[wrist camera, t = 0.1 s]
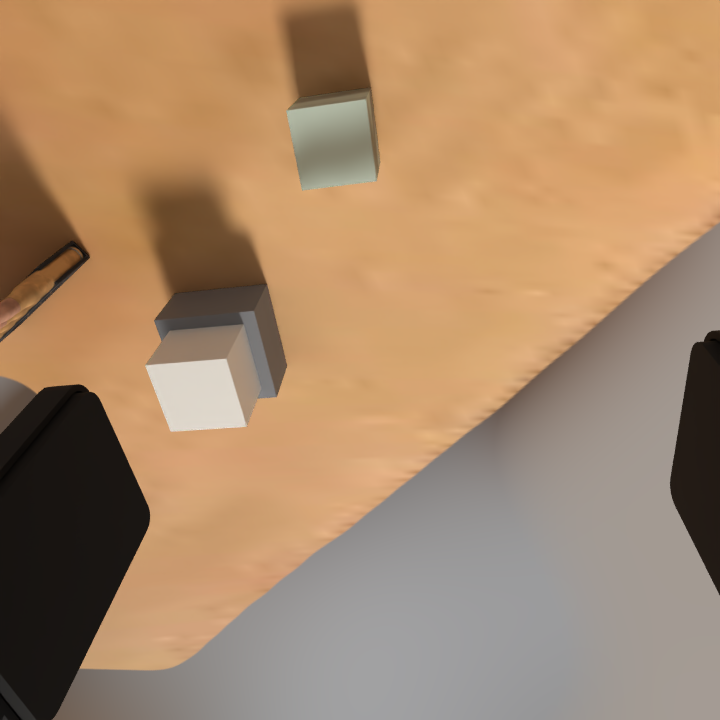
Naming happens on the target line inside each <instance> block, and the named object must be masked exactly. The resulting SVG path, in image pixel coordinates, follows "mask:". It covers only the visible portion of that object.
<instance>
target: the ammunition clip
mask: <svg viewBox="0 0 720 720" xmlns="http://www.w3.org/2000/svg"><path fill="white" fill-rule="evenodd" d="M89 258H90V257H89V256H88V255H87V254H86V253H85V252H84V251H83V250H82V249H81V248H80V247H79V246H78V245H77V244H76V243H74V242H73V241H71V242H69V243H68V244H67V245H65V246H64V247H63V248H61V249H60V250H59V251H57V252H56V253H55V254H54V255H52V256H51V257H50V258H48V259H47V260H46V261H44V262H43V263H42V264H40V265H39V266H38V267H37V268H36V269H35V270H34V271H33V272H32V273H31V274H30V275H29V276H28V277H27V278H26V279H25V280H24V281H22V282H21V283H20V284H18V285H17V286H16V287H15V288H14V289H13V290H12V292H11V293H10V295H8V296H7V297H6V298H4V299H3V300H2V301H1V302H0V342H1V341H2V340H3V339H4V338H6V337H7V336H8V335H9V334H10V333H11V332H13V331H14V330H15V329H16V328H17V327H18V326H20V325H21V324H22V323H23V322H24V321H25V320H26V319H27V318H28V317H29V316H30V315H31V314H32V313H33V312H34V311H35V310H36V309H37V308H38V307H39V306H40V305H41V304H42V303H43V302H44V301H46V300H47V299H48V298H49V297H50V296H51V295H52V294H53V293H54V292H55V291H56V290H57V289H58V288H59V287H60V286H61V285H62V284H63V283H64V282H65V281H66V280H67V279H68V278H69V277H70V276H71V275H73V274H74V273H75V272H76V271H77V270H78V269H79V268H80V267H81V266H82V265H83V264H84V263H85V262H86V261H87V260H88V259H89Z"/></svg>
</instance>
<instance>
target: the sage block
mask: <svg viewBox="0 0 720 720" xmlns="http://www.w3.org/2000/svg"><path fill="white" fill-rule="evenodd" d="M287 117H288V122H289V127H290V132H291V137H292V142H293V147H294V152H295V157H296V162H297V167H298V172H299V177H300V183H301V188H302V190H310V189H318V188H326V187H334V186H342V185H350V184H357V183H365V182H373V181H377V177H378V171H379V166H380V156H379V148H378V140H377V132H376V124H375V116H374V108H373V100H372V92H371V87H369V88H362V89H355V90H348V91H342V92H335V93H328V94H321V95H315V96H308V97H301V98H299V99H298V100H297V101H296V102H295V103H294V104H293V105H292V106H291V107H290V108H289V109H288V110H287Z"/></svg>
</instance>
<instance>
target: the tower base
mask: <svg viewBox="0 0 720 720" xmlns="http://www.w3.org/2000/svg"><path fill="white" fill-rule="evenodd" d="M154 321H155V324H156V327H157V330H158V332H159V335H160V338H161V341H163V339H164V338H165V336H166V335H167V334H168V332H169V331H172V330H183V329H194V328H205V327H217V326H228V325H239V324H244V327H245V331H246V334H247V338H248V342H249V345H250V349H251V353H252V356H253V360H254V364H255V367H256V371H257V375H258V378H259V382H260V386H261V390H260V393H259V396H258V398H271V397H277V395H278V392H279V389H280V386H281V383H282V380H283V377H284V374H285V371H286V368H287V363H286V359H285V355H284V351H283V347H282V343H281V339H280V335H279V331H278V327H277V323H276V319H275V314H274V310H273V306H272V302H271V298H270V294H269V290H268V286H267V284H262V285H252V286H242V287H232V288H223V289H213V290H203V291H193V292H183V293H175V294H174V295H173V296H172V298H171V299H170V300H169V302H168V303H167V304H166V306H165V307H164V308H163V309H162V311H161V312H160V313H159V315H158V316H157V317H156V319H155V320H154Z"/></svg>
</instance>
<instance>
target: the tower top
mask: <svg viewBox="0 0 720 720" xmlns="http://www.w3.org/2000/svg"><path fill="white" fill-rule="evenodd" d="M145 366H146V369H147V371H148V374H149V376H150V379H151V382H152V384H153V387H154V389H155V392H156V394H157V397H158V400H159V402H160V405H161V407H162V410H163V413H164V415H165V418H166V420H167V423H168V426H169V428H170V431H171V432H172V431H188V430H204V429H219V428H235V427H247V425H248V422H249V420H250V417H251V414H252V412H253V409H254V406H255V404H256V401H257V398H258V396H259V393H260V390H261V386H260V382H259V378H258V375H257V371H256V367H255V364H254V360H253V356H252V353H251V349H250V345H249V342H248V338H247V334H246V331H245V327H244V324H239V325H228V326H217V327H205V328H194V329H183V330H172V331H169V332H168V334H167V335H166V336H165V338H164V339H163V341H162V342H161V344H160V345H159V346H158V348H157V349H156V351H155V352H154V354H153V355H152V356H151V358H150V359H149V361H148V362H147V363H146V365H145Z"/></svg>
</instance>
